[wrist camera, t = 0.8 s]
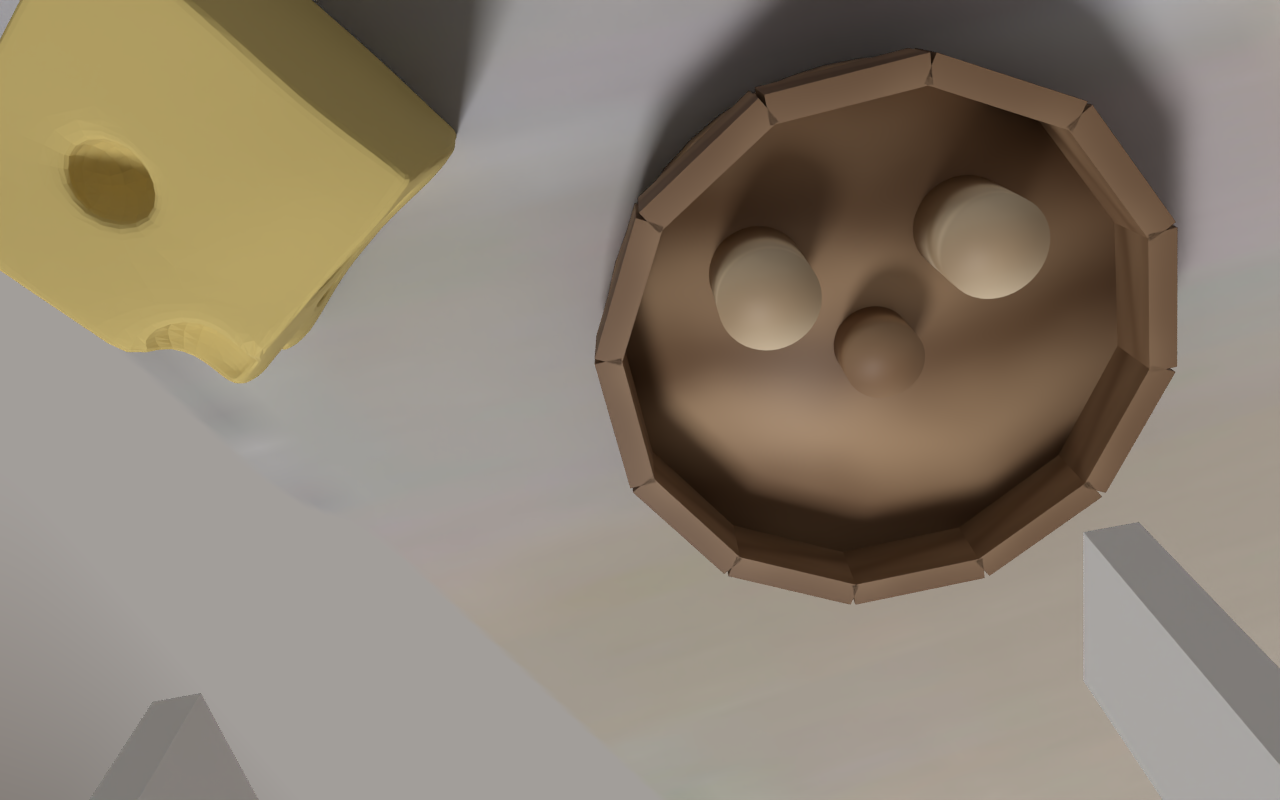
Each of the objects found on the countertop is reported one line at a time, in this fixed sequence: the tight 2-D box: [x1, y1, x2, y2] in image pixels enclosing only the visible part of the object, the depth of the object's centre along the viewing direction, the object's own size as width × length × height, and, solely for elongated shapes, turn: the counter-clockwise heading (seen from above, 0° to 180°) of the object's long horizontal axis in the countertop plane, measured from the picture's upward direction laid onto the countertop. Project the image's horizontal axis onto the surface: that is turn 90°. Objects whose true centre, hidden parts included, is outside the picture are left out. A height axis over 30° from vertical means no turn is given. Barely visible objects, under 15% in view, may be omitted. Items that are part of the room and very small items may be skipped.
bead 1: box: [709, 226, 822, 350], centre depth 33 cm, size 4×4×4 cm
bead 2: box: [913, 175, 1050, 299], centre depth 32 cm, size 4×4×4 cm
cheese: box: [0, 0, 456, 383], centre depth 29 cm, size 10×11×10 cm
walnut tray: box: [595, 48, 1177, 604], centre depth 35 cm, size 21×21×4 cm
